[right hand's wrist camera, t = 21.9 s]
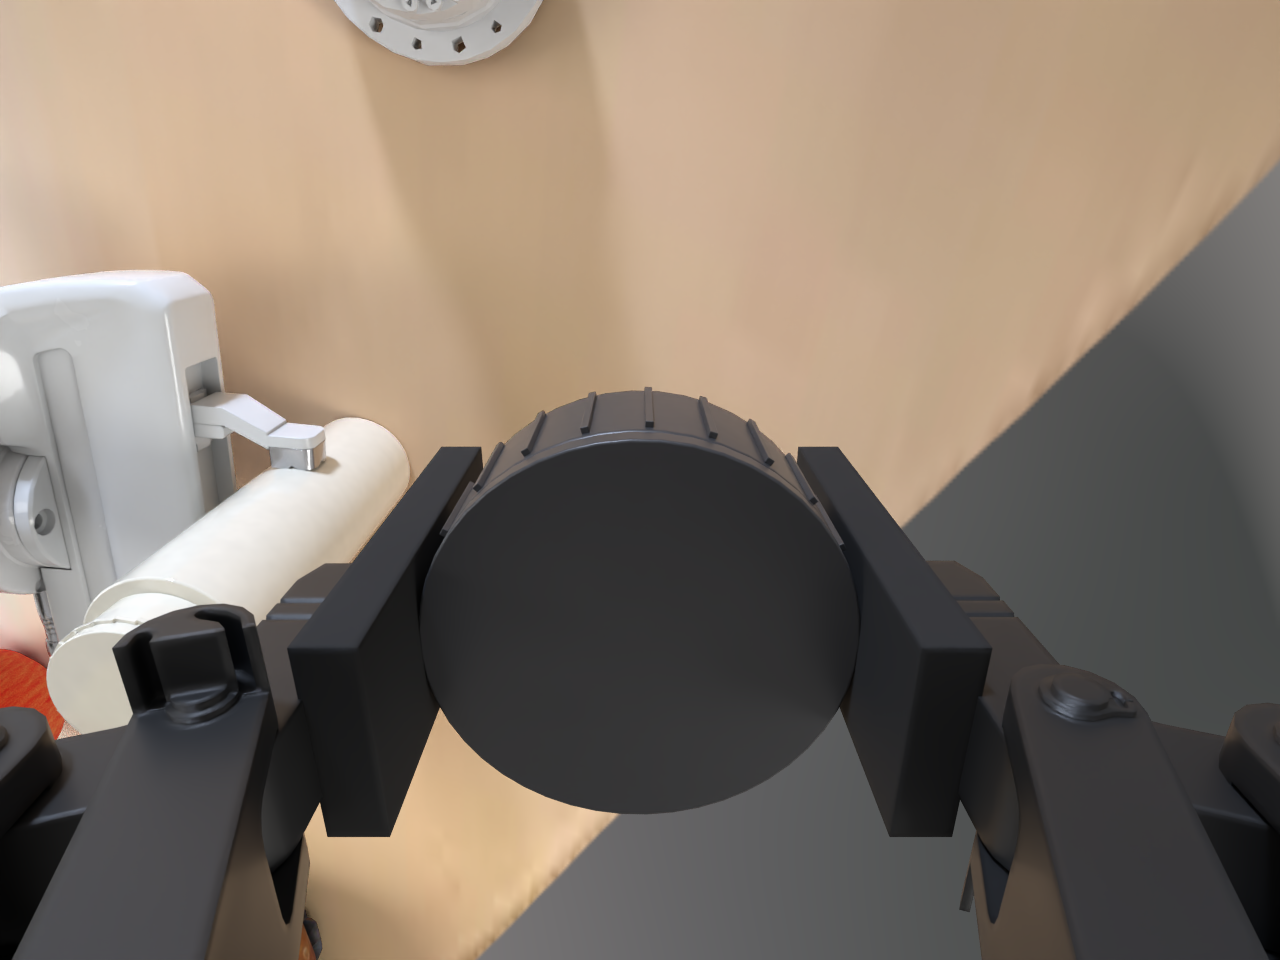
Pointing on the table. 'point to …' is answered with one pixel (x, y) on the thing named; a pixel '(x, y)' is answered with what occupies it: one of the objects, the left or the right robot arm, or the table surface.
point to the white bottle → (234, 560)
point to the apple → (27, 687)
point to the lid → (639, 607)
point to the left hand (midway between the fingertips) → (326, 518)
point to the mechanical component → (441, 26)
